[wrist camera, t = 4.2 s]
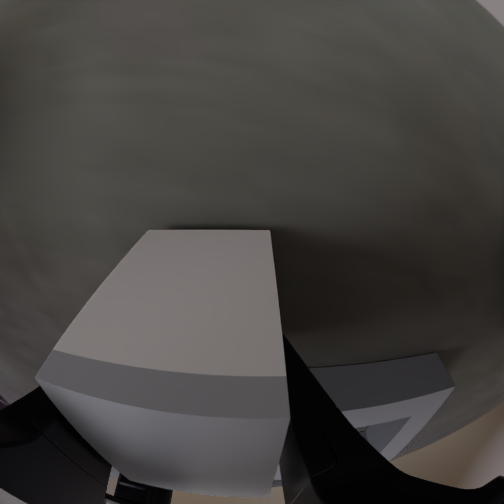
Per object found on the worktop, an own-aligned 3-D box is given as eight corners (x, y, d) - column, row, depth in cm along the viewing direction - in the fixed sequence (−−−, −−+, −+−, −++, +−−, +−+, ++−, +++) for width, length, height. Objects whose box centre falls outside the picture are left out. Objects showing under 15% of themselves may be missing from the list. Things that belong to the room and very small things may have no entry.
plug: (264, 347, 12) (268, 496, 6) (169, 343, 12) (129, 480, 6) (269, 230, 10) (290, 418, 3) (148, 230, 10) (34, 377, 3)
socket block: (379, 437, 19) (388, 469, 15) (265, 450, 19) (265, 486, 16) (436, 352, 14) (459, 393, 10) (274, 369, 14) (277, 426, 10)
